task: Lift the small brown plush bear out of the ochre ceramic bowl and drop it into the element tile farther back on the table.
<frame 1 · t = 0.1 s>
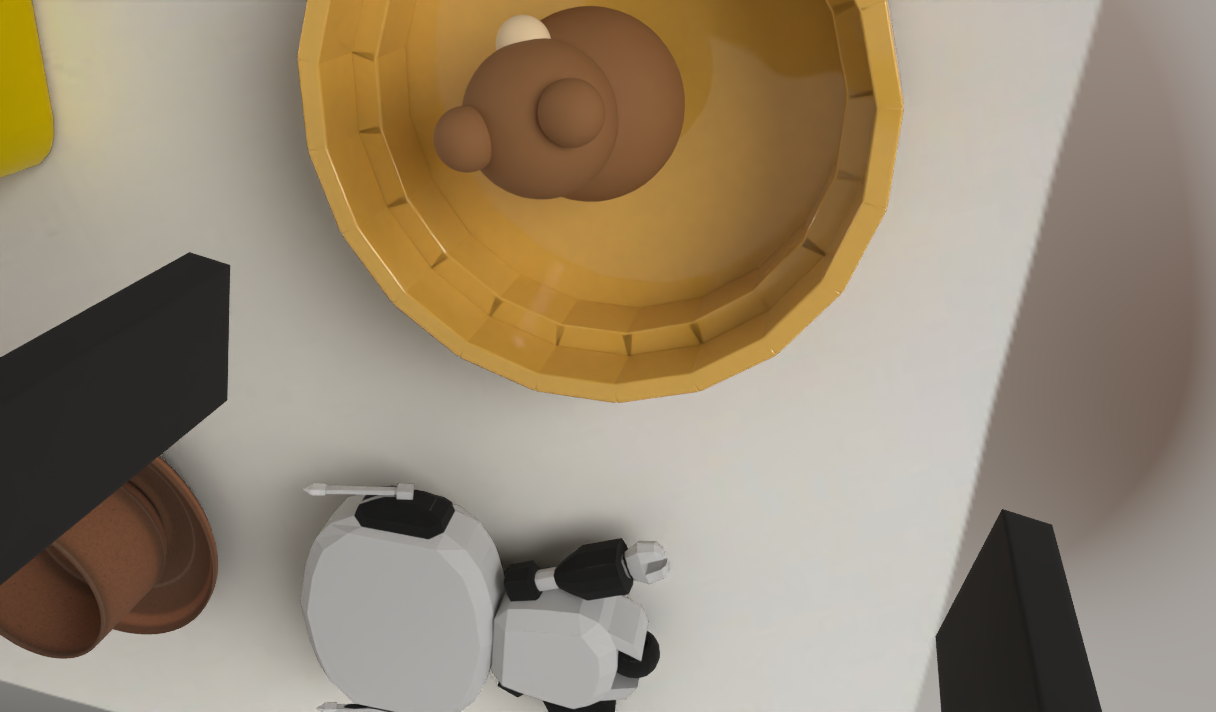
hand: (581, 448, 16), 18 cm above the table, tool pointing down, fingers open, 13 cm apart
cup and saucer: (126, 506, 46), on the table
robot toy: (502, 580, 43), on the table
plush bear: (615, 99, 31), point 1 cm above the table, tilted 8°, touching ochre bowl
ochre bowl: (620, 95, 32), on the table
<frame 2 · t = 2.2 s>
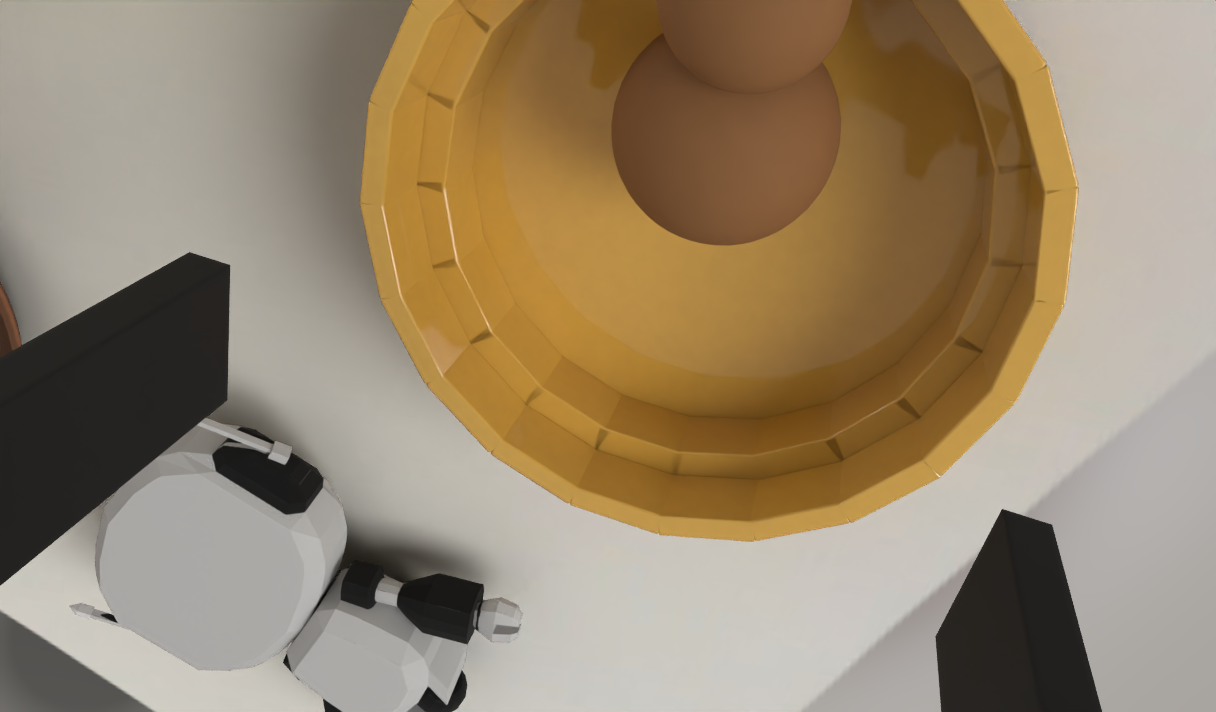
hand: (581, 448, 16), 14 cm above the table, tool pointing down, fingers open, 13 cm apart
robot toy: (331, 553, 39), on the table
plush bear: (710, 197, 26), point 2 cm above the table, tilted 55°, touching ochre bowl
ochre bowl: (717, 190, 28), on the table
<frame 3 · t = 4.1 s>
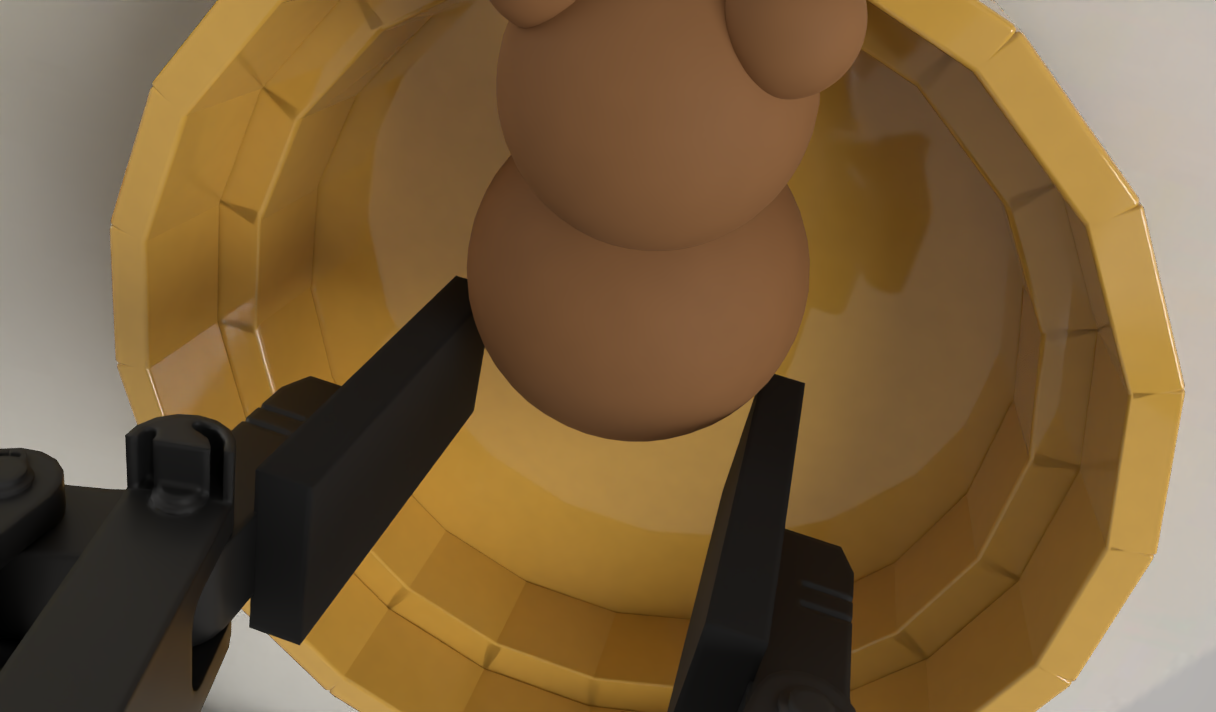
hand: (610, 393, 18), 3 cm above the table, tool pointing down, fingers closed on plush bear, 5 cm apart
plush bear: (629, 347, 19), point 2 cm above the table, tilted 54°, touching gripper, ochre bowl
ochre bowl: (644, 325, 20), on the table
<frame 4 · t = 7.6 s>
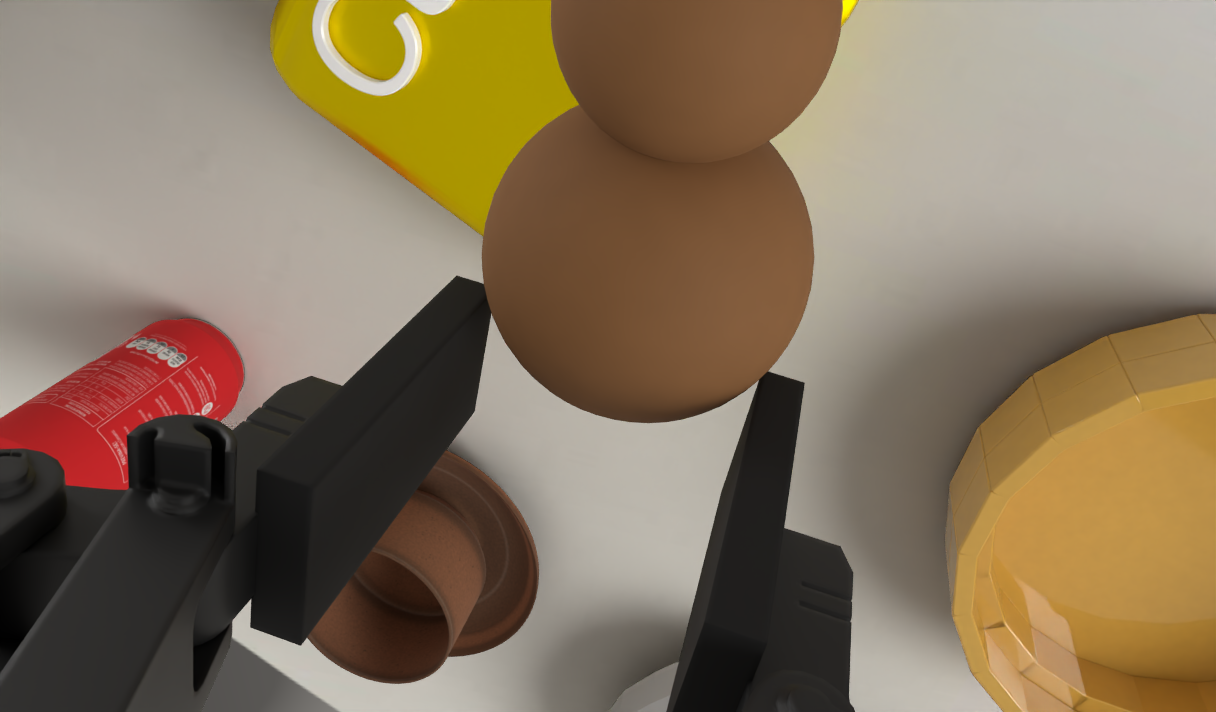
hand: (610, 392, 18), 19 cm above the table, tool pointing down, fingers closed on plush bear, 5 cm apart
cup and saucer: (430, 527, 46), on the table
plush bear: (624, 370, 19), point 18 cm above the table, tilted 74°, touching gripper
ochre bowl: (1191, 521, 36), on the table
beverage can: (204, 359, 45), on the table
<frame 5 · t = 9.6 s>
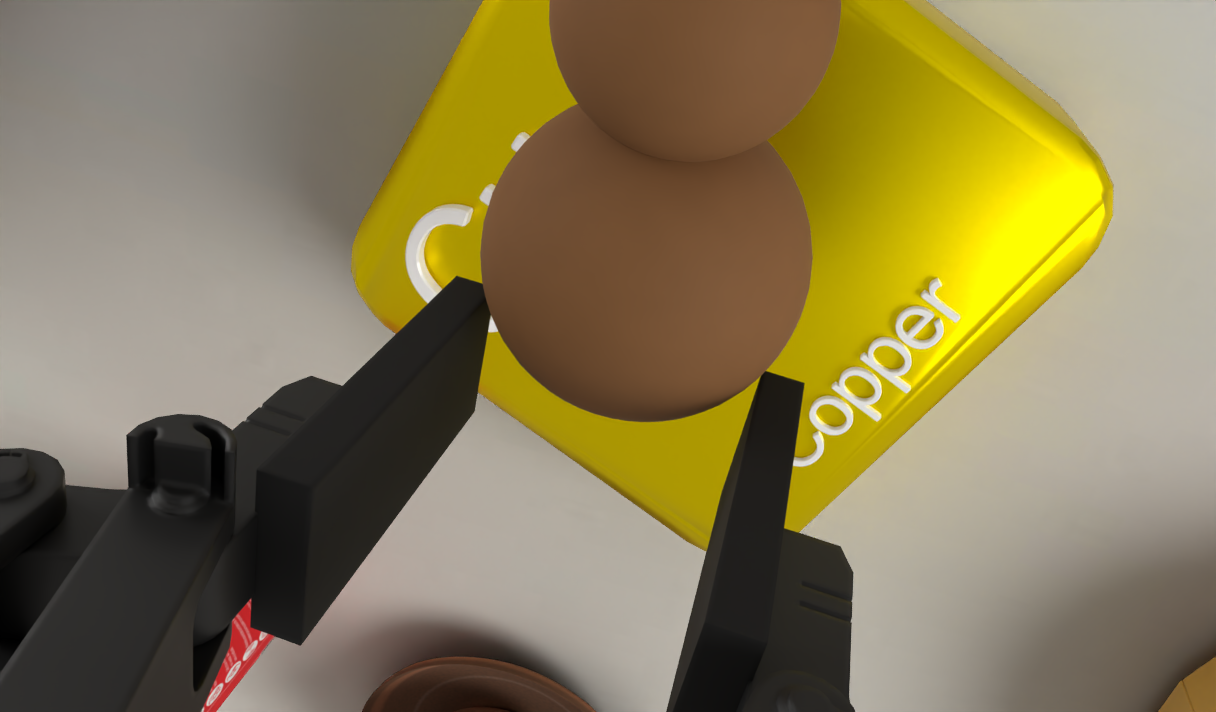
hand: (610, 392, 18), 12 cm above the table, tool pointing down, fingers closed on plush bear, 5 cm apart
plush bear: (623, 370, 19), point 11 cm above the table, tilted 74°, touching gripper
element tile: (713, 196, 28), on the table
beverage can: (256, 556, 40), on the table
when the fingers open (8 cm above the table, at t = 11.1 s): plush bear moves 2 cm and tips over, resting on element tile.
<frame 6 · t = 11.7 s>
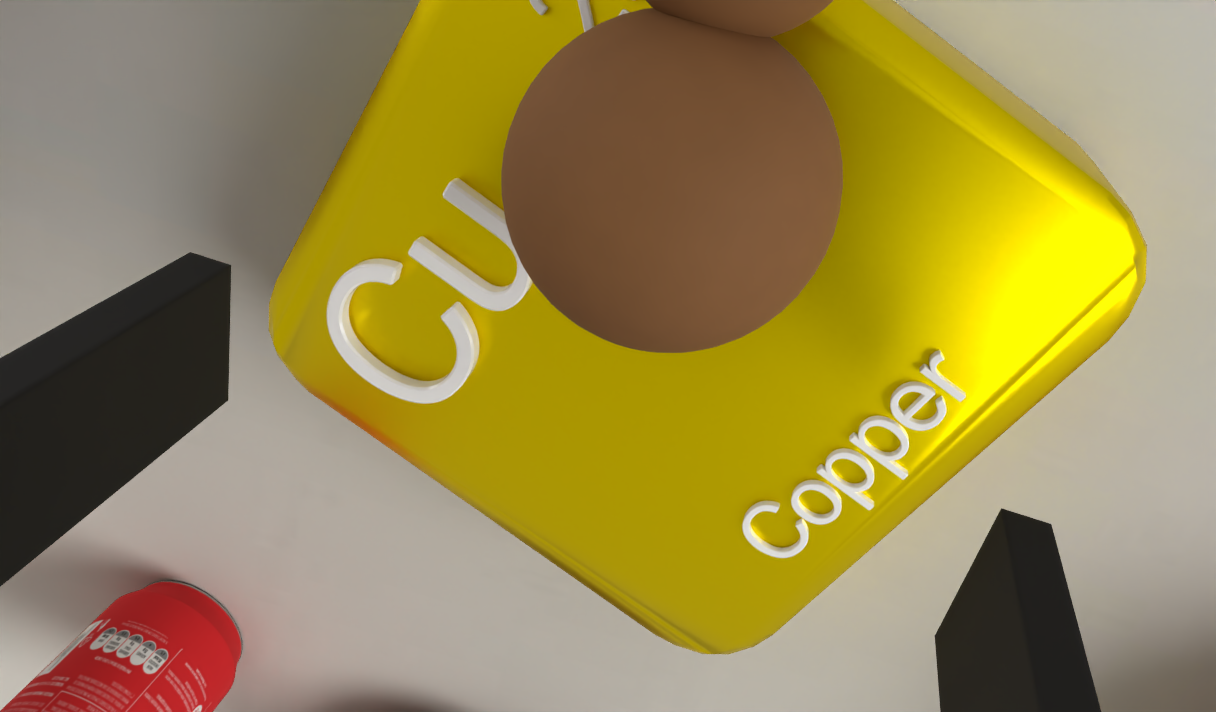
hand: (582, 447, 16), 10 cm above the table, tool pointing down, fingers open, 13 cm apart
plush bear: (631, 336, 17), point 8 cm above the table, tilted 96°, touching element tile
element tile: (684, 243, 25), on the table, touching plush bear
beverage can: (192, 624, 36), on the table
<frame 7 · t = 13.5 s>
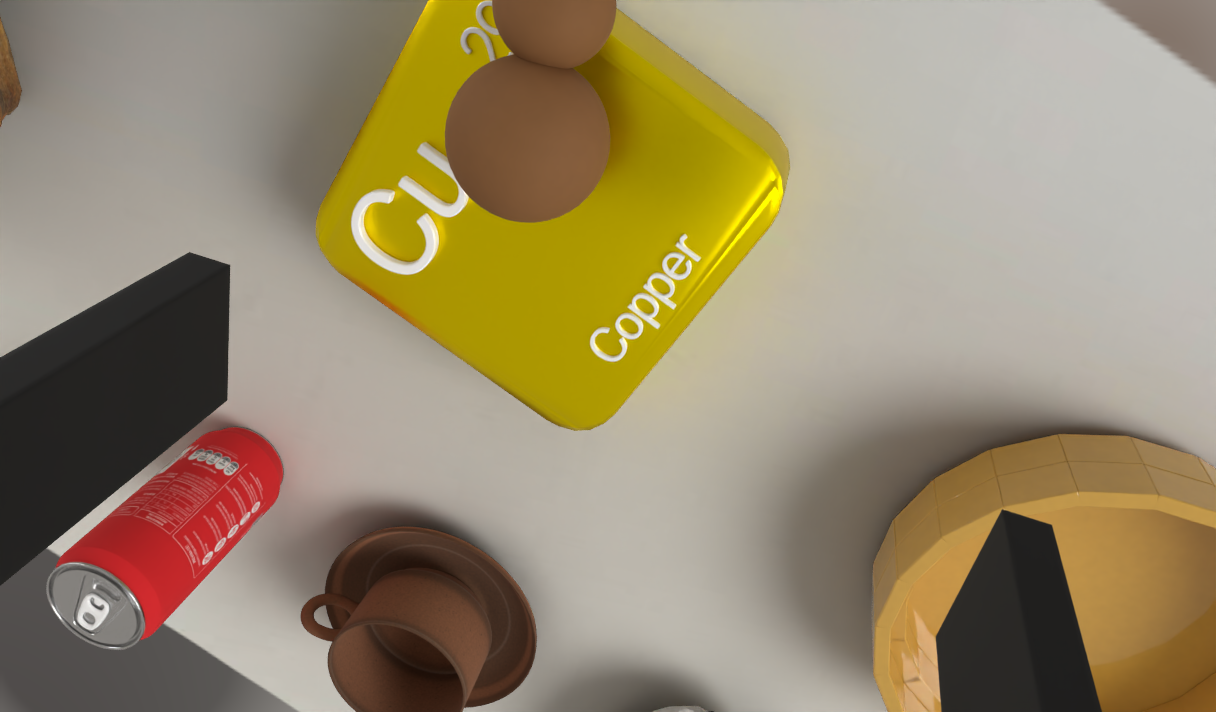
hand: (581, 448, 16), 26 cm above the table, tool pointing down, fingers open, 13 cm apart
cup and saucer: (443, 597, 54), on the table
plush bear: (512, 217, 34), point 8 cm above the table, tilted 96°, touching element tile
ochre bowl: (1068, 591, 45), on the table
element tile: (562, 185, 42), on the table, touching plush bear
beverage can: (248, 460, 53), on the table
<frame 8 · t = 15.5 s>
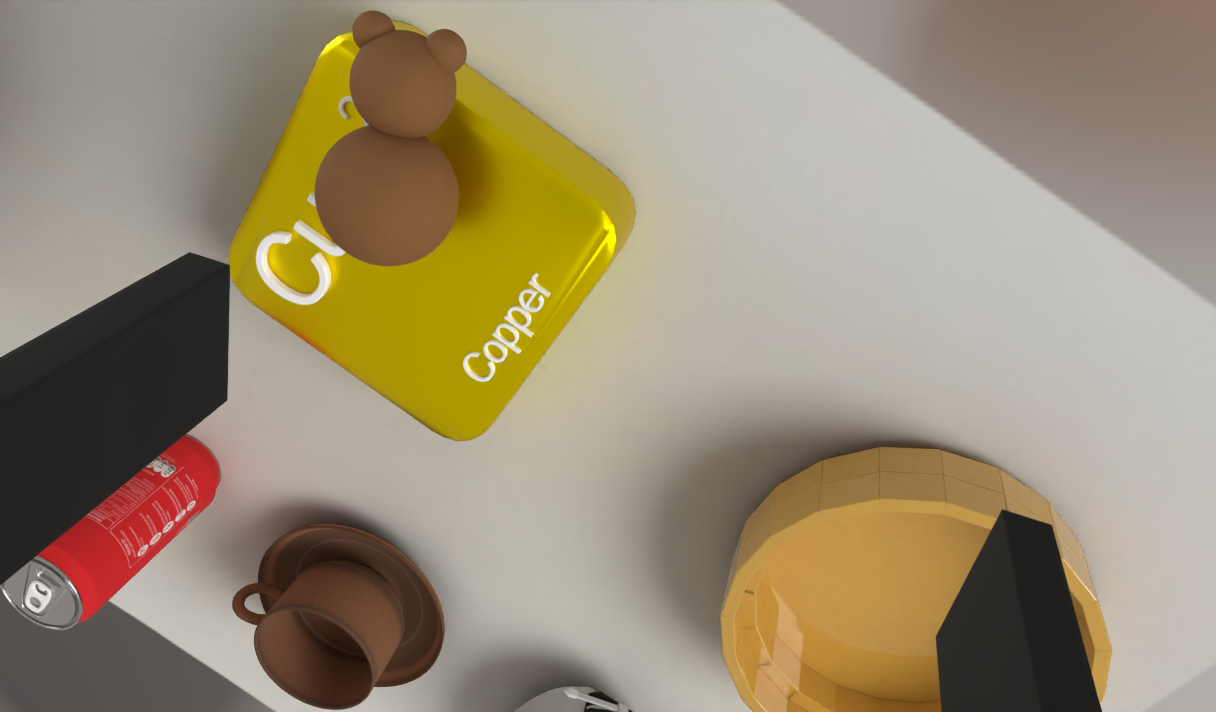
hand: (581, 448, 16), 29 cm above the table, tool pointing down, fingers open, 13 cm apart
cup and saucer: (365, 587, 60), on the table
plush bear: (378, 261, 40), point 8 cm above the table, tilted 96°, touching element tile
ochre bowl: (902, 586, 50), on the table
element tile: (446, 225, 47), on the table, touching plush bear
beverage can: (189, 462, 59), on the table
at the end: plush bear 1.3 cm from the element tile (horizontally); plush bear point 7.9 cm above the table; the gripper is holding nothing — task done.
